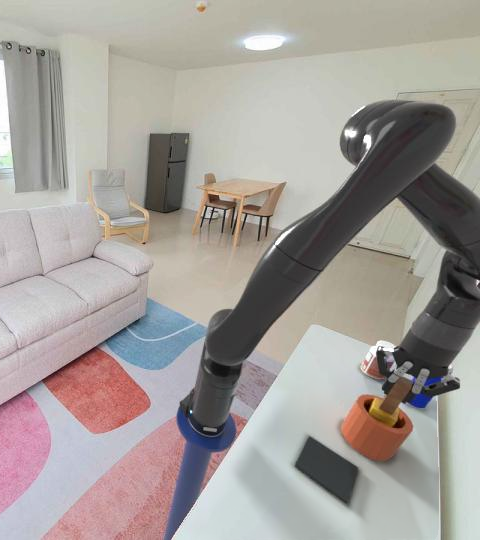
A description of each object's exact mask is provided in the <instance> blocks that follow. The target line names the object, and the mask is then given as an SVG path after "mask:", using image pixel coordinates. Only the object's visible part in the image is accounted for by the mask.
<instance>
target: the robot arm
mask: <svg viewBox="0 0 480 540" xmlns="http://www.w3.org/2000/svg"><path fill="white" fill-rule="evenodd" d="M457 125H458V124H457V115H456V114H455V111H454V110H453V109H451V107H449V106H447V105H444V104H441V103H437V102H430V101H421V100H407V99H382V100H378V101H374V102H371V103H368V104H366V105H365V106H363V107H361V108H360V109H358V110H357V111H356V112H354V113H353V114H352V115H351V116H350V118H348V120H347V121H346V122H345V124H344V126H343V128H342V129H341V130H342V131H341V132H340V137H339V149H340V152H341V155H342V156H343V158H344V159H345V160H346V162H348V163H349V164H351V165H352V166H354V169H353V170H352V172H351V173H350V174H349V175H348V176H347V178H346V179H345V180H344V182H343V183H342V184H341V185H340V187H339V188H338V189H337V190H336V191H335V192H334V193H333V194H332V195H331V196H330V197H329V198H328V199H327V200H326V201H325V202H323V203H321V205H319V206H318V207H315V208H314V209H313V210H311V211H309V212H308V213H306V214H305V215H302V216H301V217H299V218H297V219H296V220H295V221H293V222H291V223H290V224H288V225H287V226H286V227H285V228H283V229H282V230H281V231H280V233H278V234H277V235H276V237H275V238H274V239H273V240H272V242H271V244H270V245H269V246H268V247H267V249H266V250H265V251H264V253H262V255H261V257H260V258H259V260H258V262H257V263H256V265H255V267H254V269H253V270H252V273H251V275H250V276H249V279H248V281H247V283H246V285H245V287H244V289H243V292H242V294H241V296H240V298H239V300H238V301H237V303H236V305H235V306H234V308H223V309H220V310H218V311H216V312H214V313H213V315H211V317H210V318H209V321H208V324H207V328H206V333H205V338H204V342H203V347H202V351H201V355H200V360H199V365H198V369H197V375H196V378H195V383H194V387H193V388H192V389H190V391H189V393H188V394H187V395H186V396H185V397H184V398H183V399H181V400H179V406H180V407H179V406H178V408H179V410H180V411H182V412H183V413H184V414H185V417H186V418H187V419H188V422H189V424H190V426H191V427H192V429H193V430H194V431H195V432H196V433H198V434H199V435H201V436H204V437H207V438H216V437H218V436H220V435H221V434H222V433H223V431H224V429H225V425H226V421H227V418H228V415H229V413H230V412H231V408H232V405H233V402H234V399H235V395H236V392H237V390H238V385H239V383H240V380H241V376H242V372H243V367H244V362H245V361H247V360H248V359H249V357H250V356H251V355H252V354H253V352H254V351H255V350H256V348H257V347H258V345H259V344H260V342H261V341H262V339H263V338H264V337H265V336H266V334H267V333H268V332H269V330H270V329H271V328H272V326H273V325H274V324H276V322H277V321H278V320H279V319H280V318H281V317H282V316H283V315H284V314H285V312H286V311H287V310H289V308H291V306H292V305H294V303H295V302H297V300H298V299H299V298H300V297H301V296H302V295H303V294H304V293H305V292H306V290H308V289H309V287H311V286H312V285H313V283H314V282H316V280H318V278H319V277H320V276H321V275H322V274H323V273H324V272H325V271H326V270H327V268H328V267H329V266H330V265H331V264H332V263H333V261H334V260H335V259H336V258H337V257H338V256H339V254H341V253H342V251H344V249H345V248H346V247H347V246H348V245H349V244H350V243H351V242H352V241H353V240H354V239H355V238H356V237H357V236H358V235H359V234H360V233H361V232H362V231H363V230H364V229H365V228H366V227H367V226H368V225H369V224H370V222H372V221H373V220H374V219H375V218H376V217H377V216H378V215H379V214H380V213H381V212H383V210H384V209H386V208H387V207H388V206H389V205H391V203H392V202H394V200H396V199H397V200H398V201H399V202H400V203H401V204H402V205H403V206H404V207H405V209H407V210H408V212H409V213H410V214H411V215H412V216H413V217H414V218H415V220H416V221H417V222H418V223H419V224H420V225H421V226H422V227H423V229H424V230H425V231H426V233H428V235H430V236H431V238H432V239H433V240H434V241H435V242H436V243H437V245H438V246H440V247H441V248H443V250H445V251H444V253H443V256H442V259H441V262H440V265H439V266H440V267H439V272H438V277H437V281H436V288H435V291H434V293H433V295H432V296H431V298H430V299H429V301H428V302H427V304H426V306H425V307H424V308H423V310H422V311H421V312H420V313H419V314H418V315H417V317H416V318H415V319H414V320H413V322H412V324H411V326H410V328H409V329H408V331H407V333H406V334H405V336H404V337H403V339H402V340H401V342H400V344H399V345H397V346H396V347H395V348H394V349H385V348H384V347H383V346H378V348H377V351H376V357H377V362H378V368H379V373H380V375H382V376H385V378H386V379H385V380H384V382H383V383H382V386H381V391H383V394H384V395H385V394H386V395H388V393H389V392H390V390H391V389H392V387H393V386H394V384H395V382H396V381H397V380H398V379H399V378H400V377H402V376H403V377H404V375H405V374H406V375H410V376H412V378H413V377H415V380H414V382H413V384H412V388H411V389H410V391H409V392H408V393H407V395H406V396H405V398H404V399H403V400H402V402H401V403H402V404H404V405H406V404H407V403H411V402H412V401H413V400H414V398H415V397H416V396H417V394H424V395H426V396H427V397H433V398H434V397H436V396H437V397H438V396H440V395H443V394H446V393H450V392H453V391H456V390H459V389H461V379H460V378H458V377H456V376H453V375H452V373H451V374H449V373H448V367H449V366H450V364H451V365H452V363H453V362H454V360H455V359H456V358H457V356H458V355H459V354H460V353H461V351H462V350H463V348H464V347H465V346H466V345H467V343H468V342H469V341H470V340H471V338H472V336H473V334H474V332H475V330H476V329H477V326H479V324H480V288H479V285H478V283H477V281H479V282H480V197H479V195H477V194H476V193H475V192H474V191H473V190H472V189H470V187H468V186H467V185H465V184H464V183H462V182H461V181H460V180H459V179H457V178H456V177H454V176H453V175H452V174H450V173H449V172H447V171H446V170H445V169H443V167H441V166H440V165H439V164H438V163H436V162H437V161H438V160H439V158H440V157H441V156H442V155H443V154H444V153H445V151H446V149H447V148H448V147H449V145H450V144H451V142H452V139H453V137H454V136H455V133H456V131H457V130H456V129H457ZM390 355H393V357H394V360H395V362H394V363H395V366H394V368H393V369H392V370H391V369H390V370H389V369H388V365H387V359H389V357H390ZM438 377H443V378H442V379H441V381H439V382H436V383H433V384H430V385H427V386H424V383H425V381H426V380H428V379H433V378H438ZM406 402H407V403H406Z"/></svg>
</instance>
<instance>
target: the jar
mask: <svg viewBox="0 0 480 540" xmlns="http://www.w3.org/2000/svg"><path fill="white" fill-rule="evenodd" d="M375 398H378V399H380V400H382V399H383V397H381V396H378V395H374V394H368V393H367V394H361V395H359V396H358V397H357V398H356V399H355V401H354V403H353V405H352V406H351V408H350V410H349V412H348V413H347V415H346V417H345V418H344V420H343V421H342V423H341V426H340V429H341V434H342V436H343V438H344V439H345V441H346V442H347V443H348V444H349V445H350V447H352V448H353V449H354V450H355V451H357V452H358V453H359V454H361V455H363V456H364V457H367V458H368V459H371V460H375V461H377V462H378V461H379V462H387V461H390V459H392V458H393V456H395V454H396V453H397V452H398V450H399V449H400V448H401V446H402V445H403V444H404V443H405V441H406V440H407V439H408V438H409V436H410V435H411V434H412V432H413V431H414V424H413V422H412V419H411V418H410V417H409V415H408V414H407V413H406V412H405V411H404V410H403V409H401V407H399V406H398V407H397V408H398V409H399V413H398V418H397V422H396V423H395V424H394V426H393V427H389V426H386V425H384V424H382V423H380V422H378V421H377V420H376V419H374V418H373V417H372V416H371V415H370V414H369V413H368V412H367V410H368V408H369V407H370V405H371V404H372V402H373V401H374V399H375Z"/></svg>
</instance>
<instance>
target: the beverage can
mask: <svg viewBox="0 0 480 540" xmlns="http://www.w3.org/2000/svg"><path fill="white" fill-rule="evenodd" d="M453 372H454V366H453V364H452V363H451V364H450V366H449V367H448V373H449V374H451V375H452V374H453ZM442 378H443V377H438V378H433V379H428V380H426V381H425V383H424V386H427V385H430V384H433V383H436V382H439V381H441V379H442ZM411 380H412V381H413V382H414V380H415V377H413V376H412V378H411ZM433 398H434V397H427V396H426V395H424V394H417V396H416V397H415V398H414V400H413V401H412V402H411V403H407V402H406V403H405V404H406V405H408V406H410V407H412V408H414V409H419V410H420V409H421V410H422V409H425V408H426V407H427V406H428V405H429V403H430V402H431V401H432V399H433Z"/></svg>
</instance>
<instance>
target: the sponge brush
mask: <svg viewBox="0 0 480 540" xmlns="http://www.w3.org/2000/svg"><path fill="white" fill-rule="evenodd" d="M412 384H413V381H412V379H410V378H408V377H405V376H404V375H403V376H402V377H400V378H399V379H398V380H397V381H396V382H395V384H394V386H393V387H392V389H391V390H390V392H389V393H388V395H386V394H384V396H383V397H382V398H383V399H382V400H380V399H378V398H375V399H374V401H373V402H372V404H371V405H370V407H369V408H368V410H367V412H368V413H369V414H370V415H371V416H372V417H373V418H374V419H376V420H377V421H378V422H380V423H382V424H384V425H386V426H389V427H393V426H394V424H395V423H396V422H397V418H398V413H399V409H398V408H397V407H399V406H400V404H401V403H402V400H403V399H404V398H405V396H406V395H407V393H408V392H409V391H410V389H411V388H412Z"/></svg>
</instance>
